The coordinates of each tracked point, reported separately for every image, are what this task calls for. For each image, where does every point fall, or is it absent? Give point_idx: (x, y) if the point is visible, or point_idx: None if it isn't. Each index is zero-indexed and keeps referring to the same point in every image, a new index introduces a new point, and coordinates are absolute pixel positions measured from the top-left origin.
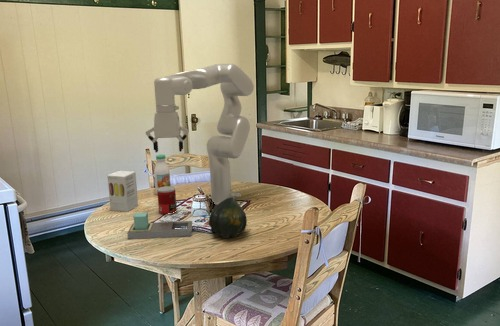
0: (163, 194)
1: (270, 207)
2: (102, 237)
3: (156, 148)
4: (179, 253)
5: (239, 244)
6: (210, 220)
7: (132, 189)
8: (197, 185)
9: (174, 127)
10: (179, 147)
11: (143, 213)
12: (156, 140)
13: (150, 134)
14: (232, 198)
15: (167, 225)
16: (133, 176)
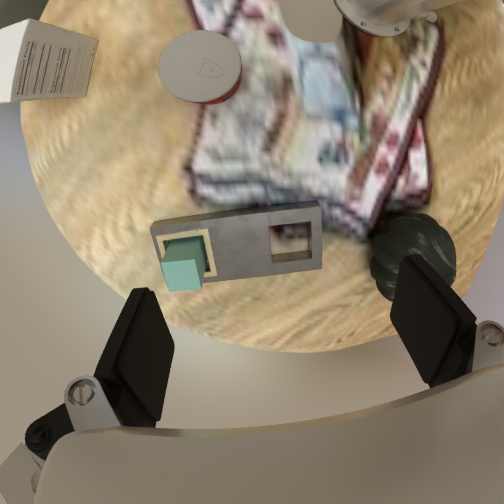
0: (197, 102)
1: (483, 91)
2: (111, 269)
3: (164, 373)
4: (302, 329)
5: None
6: (378, 282)
7: (59, 58)
8: None
9: None
10: (407, 343)
11: (185, 267)
12: (121, 411)
13: (39, 470)
14: (453, 280)
15: (254, 240)
16: (34, 38)
